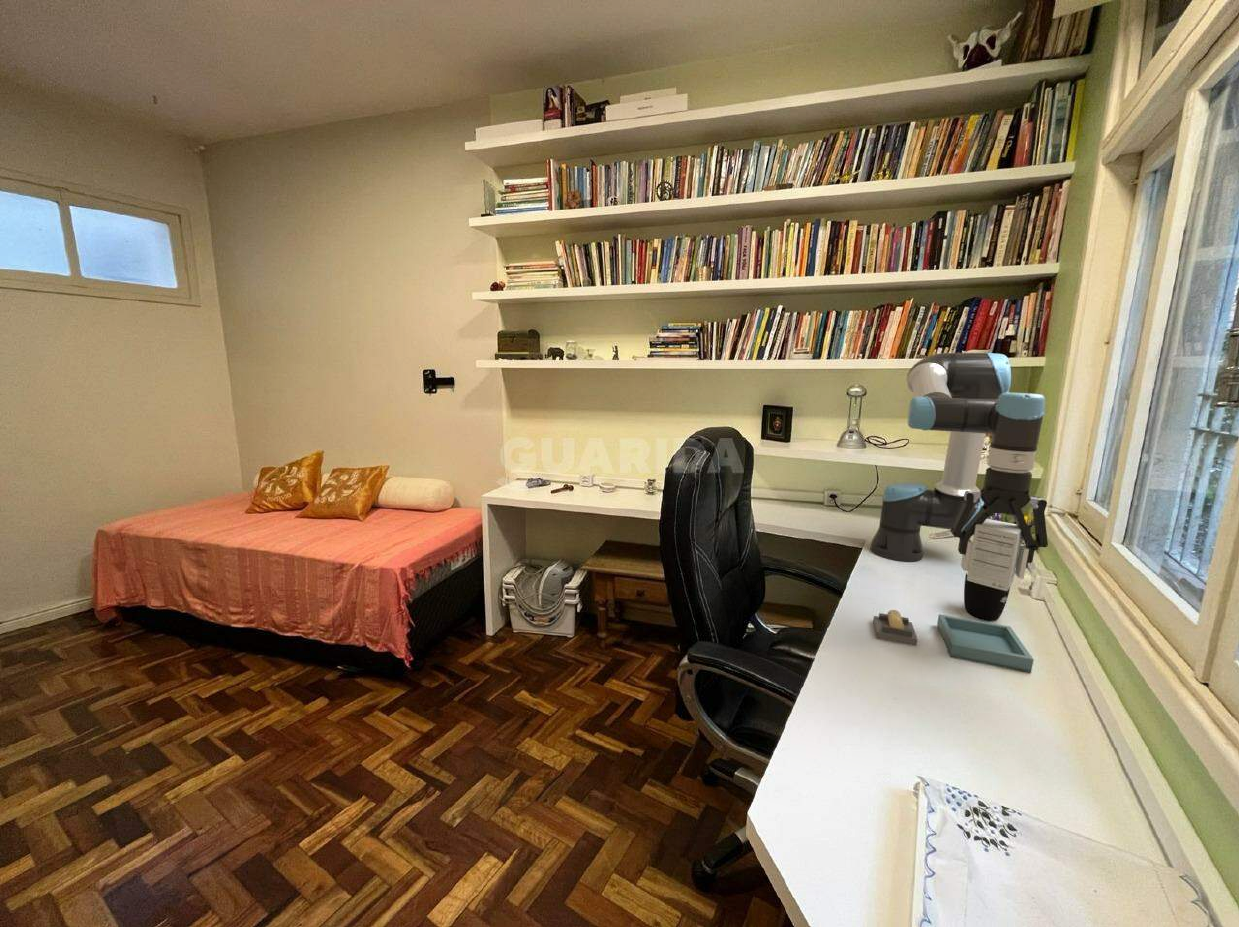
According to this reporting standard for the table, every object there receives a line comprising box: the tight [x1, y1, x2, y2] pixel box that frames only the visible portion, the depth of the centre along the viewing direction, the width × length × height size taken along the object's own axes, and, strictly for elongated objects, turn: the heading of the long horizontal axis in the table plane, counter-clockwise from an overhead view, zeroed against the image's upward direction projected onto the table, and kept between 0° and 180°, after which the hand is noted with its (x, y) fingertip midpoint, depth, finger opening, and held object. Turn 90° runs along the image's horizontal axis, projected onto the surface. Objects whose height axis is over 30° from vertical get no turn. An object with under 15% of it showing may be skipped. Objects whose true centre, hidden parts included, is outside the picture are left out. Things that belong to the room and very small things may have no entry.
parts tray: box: [936, 613, 1035, 674], centre depth 110 cm, size 14×14×3 cm
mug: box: [963, 571, 1011, 622], centre depth 125 cm, size 12×9×10 cm
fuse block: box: [872, 609, 919, 647], centre depth 115 cm, size 8×8×4 cm
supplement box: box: [967, 518, 1022, 591], centre depth 106 cm, size 7×7×13 cm
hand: (991, 572), depth 107 cm, fingers closed on supplement box, 9 cm apart
